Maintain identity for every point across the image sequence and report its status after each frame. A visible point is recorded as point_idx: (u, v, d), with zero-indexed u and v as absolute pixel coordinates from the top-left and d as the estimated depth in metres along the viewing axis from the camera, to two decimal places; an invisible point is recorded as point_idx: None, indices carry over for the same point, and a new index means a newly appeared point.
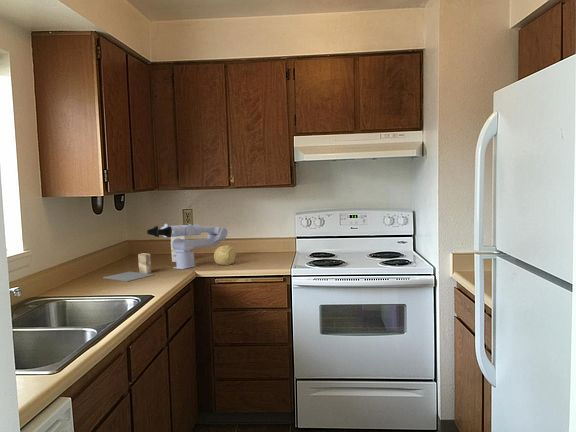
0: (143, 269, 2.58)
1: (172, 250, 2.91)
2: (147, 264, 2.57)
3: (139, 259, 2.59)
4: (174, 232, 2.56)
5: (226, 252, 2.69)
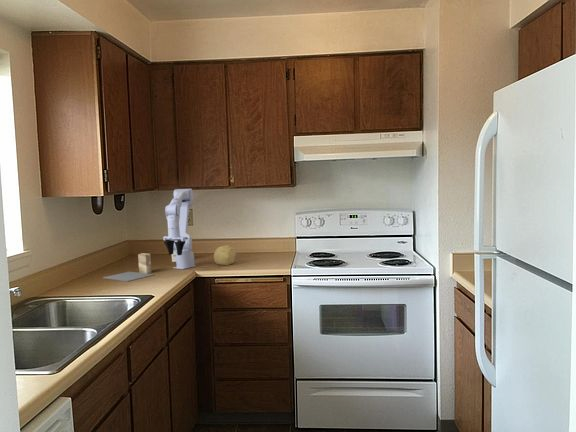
0: (143, 269, 2.58)
1: None
2: (147, 264, 2.57)
3: (139, 259, 2.59)
4: (184, 239, 2.51)
5: (226, 252, 2.69)
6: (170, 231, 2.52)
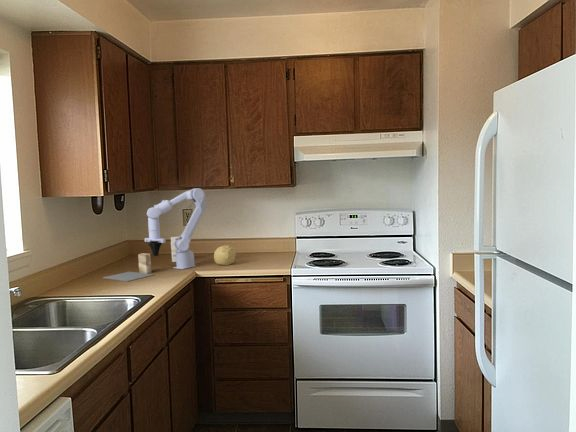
0: (143, 269, 2.58)
1: (172, 250, 2.91)
2: (147, 264, 2.57)
3: (139, 259, 2.59)
4: (164, 241, 2.60)
5: (226, 252, 2.69)
6: (150, 233, 2.61)
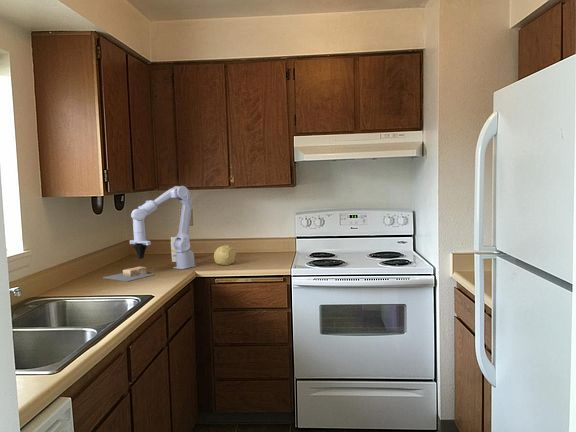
0: None
1: (172, 250, 2.91)
2: (138, 273, 2.53)
3: None
4: (149, 243, 2.53)
5: (226, 252, 2.69)
6: (135, 235, 2.54)
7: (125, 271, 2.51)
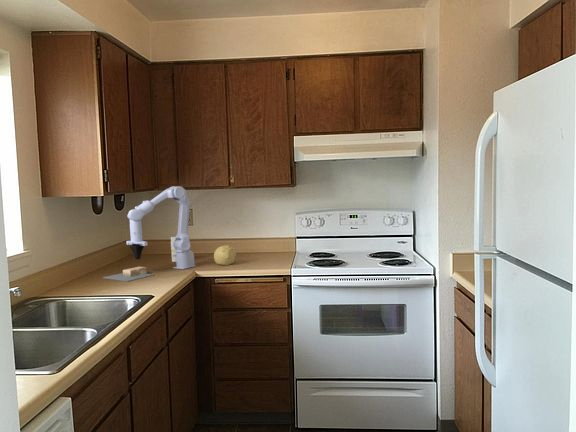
0: None
1: (172, 250, 2.91)
2: (138, 273, 2.53)
3: None
4: (146, 244, 2.51)
5: (226, 252, 2.69)
6: (132, 236, 2.52)
7: (125, 271, 2.51)
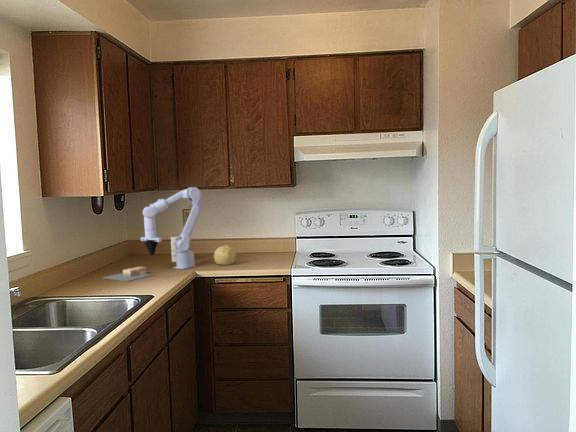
0: None
1: (172, 250, 2.91)
2: (138, 273, 2.53)
3: None
4: (160, 240, 2.58)
5: (226, 252, 2.69)
6: (146, 232, 2.60)
7: (125, 271, 2.51)
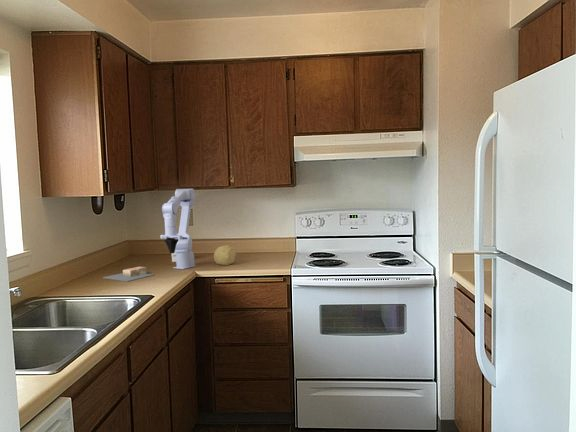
0: None
1: None
2: (138, 273, 2.53)
3: None
4: (181, 237, 2.50)
5: (226, 252, 2.69)
6: (167, 229, 2.51)
7: (125, 271, 2.51)
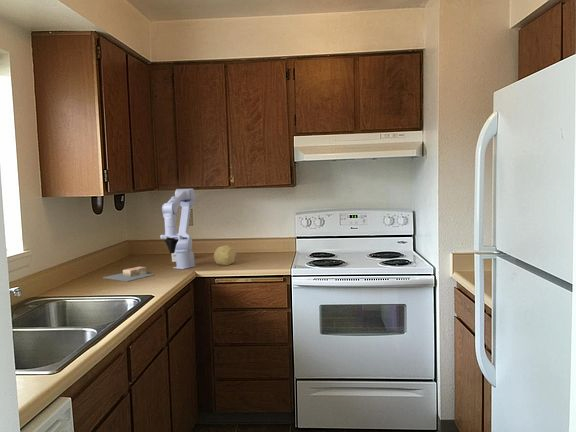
0: None
1: None
2: (138, 273, 2.53)
3: None
4: (181, 237, 2.50)
5: (226, 252, 2.69)
6: (167, 229, 2.51)
7: (125, 271, 2.51)
